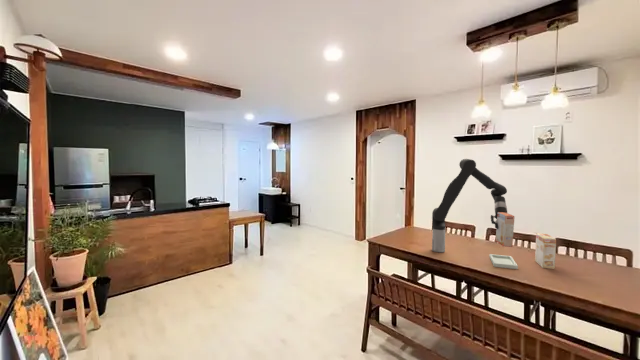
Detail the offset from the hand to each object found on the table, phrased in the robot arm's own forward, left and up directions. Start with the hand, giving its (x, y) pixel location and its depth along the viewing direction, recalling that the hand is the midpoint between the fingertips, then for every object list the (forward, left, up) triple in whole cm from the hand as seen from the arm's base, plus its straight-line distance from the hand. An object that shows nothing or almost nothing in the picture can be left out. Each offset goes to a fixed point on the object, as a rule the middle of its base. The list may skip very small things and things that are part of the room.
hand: (503, 229), depth 204 cm
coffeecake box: (+25, +4, -23) cm, 34 cm away
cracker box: (0, -2, -10) cm, 10 cm away
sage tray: (0, -2, -23) cm, 23 cm away
